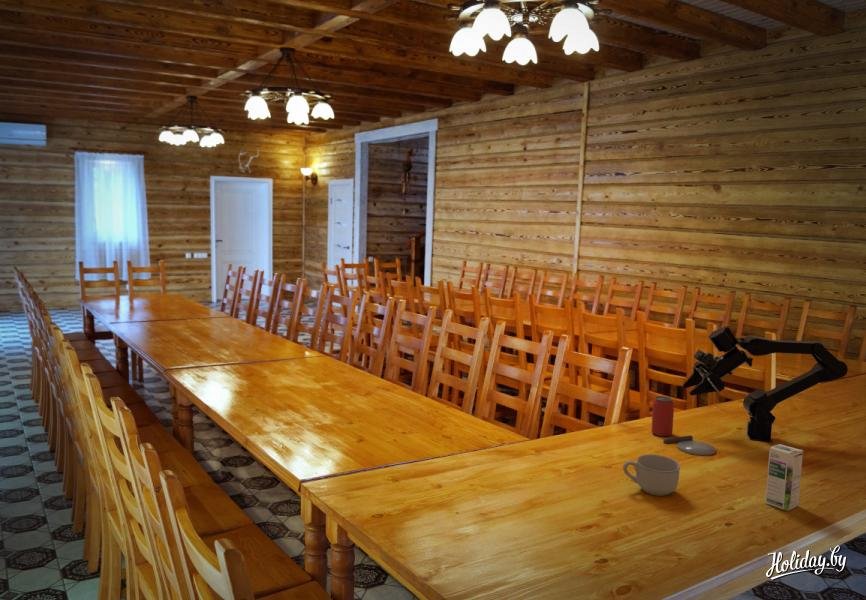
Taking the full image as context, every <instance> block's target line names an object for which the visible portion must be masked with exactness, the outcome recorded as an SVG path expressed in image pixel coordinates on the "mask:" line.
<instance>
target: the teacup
mask: <svg viewBox="0 0 866 600" xmlns="http://www.w3.org/2000/svg"><path fill="white" fill-rule="evenodd" d="M629 466H632V467H633V468H634V471H635V475H634V474H631V473H630V472H629V470H628V467H629ZM680 469H681V464H680V462H678V461H677V460H676V459H673V458H672V457H668V456H666V455H661V454H654V453H653V454H652V453H651V454H642V455H639V456H638V457H637V458H636V461H633V460H627V461H625V462H624V463H623V466H622V471H623V473H624V474H625V475H626V476H627V477H628V478H630V479H631V480H632V481H633V482H634V483H635V484H637V485H638V486H639V487H640V489H642V491H644V492H645V493H647V494H649V495H651V496H658V497H659V496H660V497H664V496H667V495H669V494H671V493H673V492H674V491H675V490H676V489H677V487H678V484H679V479H680Z"/></svg>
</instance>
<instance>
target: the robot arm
mask: <svg viewBox="0 0 866 600" xmlns="http://www.w3.org/2000/svg"><path fill="white" fill-rule="evenodd" d="M708 339H709V340H710V342H711V343H712V345H714V347H715V348H716V349H717V351H718V353H722V352H723V353H724V354H722V355H721V356H716V355H713V353H711V352H709V351H708V352H704V351H703V350H701V349H699V348H698V349H697V351H696V352H695V353H694V355H693V358H694V359H695V360H696V362H695V363H693V364H692V365H693V366H692V373H691V374H690V376H689V377H688V378H687V379H686V381H685V382H684V383H683V384H682V385H681V387H682V388H683V389H688V388H691V387H694V388H693V389H691V390H690V391H688V394H689V395H690V396H696V395H702V394H710V393H717V392H718V393H720V392H722V391H723V390H725V386H726V384H725V383H724V381H723V378H724V377H725V376H727V375H729V376H731V375H733V371H734V370H736V369H738V368H739V367H741V366H742V365H743V364H746V365H747V366H748V367H749V368H751V367H752V366H753V360H754V358H753V357H751V356H749V355H752V356H754V357H759V356H768V355H771V354H795V355H796V354H797V355H799V354H800V355H811V356H812V358H813V359H814V361H815V364H814V365H813V366H812V368H811V369H810V370H808V371H805V372H804V373H802V374H800V375H798V376H796V377H794V378H792V379H790V380H788V381H785V382H784V383H782V384H779V385H778V386H776V387H774V388H772V389H770V390H767V391H764V390H762V389H761V388H757V389H755V390H754V391H753V392H749V393H747V396H746V397H744V398H743V401H742V406H743V408H744V410H745V411H747V413H748V416H749V421H747V422H746V423H747V424H746V435H747V437H748V439H750V440H751V441H762V442H772V441H773V439H772V430H773V424H774V423H775V421H776V416H775V415H774V414H772V411H773V410H774V409H775V408H776V406H777V405H778V404H779V403H782V402H784V401H785V400H788V399H790V398H791V397H793V396H794V397H795V396H796V395H798V394H800V393H802V392H804V391H806V390H807V389H810V388H812V387H814V386H816V385H818V384H821V383H827V382H833V381H837V380H840V379H843V378H844V377H846V376H847V374H848V369H849V368H848V365H847V364H846V362H844V361H843V360H839V359H838V358H837V357H836V356H835V355H834V354H833V353H831V352H830V351H829V350H828V349H827V348H826V347H825V346H824V345H823V344H822V343H821V342H818V341H816V340H807V341H806V340H783V339H782V340H781V339H771V338H767V337H762V336H758V335H753V334H750V335H746V336H745V337H736V336H735V334H734V333H733V332H732V330H731V329H730V327H729V326H727V325H725V326H723V327H721V328H719V329H715V330H714V331H712V332H711V333H710V334H708ZM739 347H740V348H742V349H739ZM747 353H748V354H749V355H748V354H747Z"/></svg>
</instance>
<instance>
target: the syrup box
mask: <svg viewBox="0 0 866 600" xmlns="http://www.w3.org/2000/svg"><path fill="white" fill-rule="evenodd" d="M803 453H804V450H803V449H799V448H795V447H792V446H789V445H788V446H787V445H784V444H782V443H781V444H776V445H773V446H770V447H769V453H768V464H767V480H766V492H765V501H764V504H765V505H769V506H771V507H775V508H778V509H780V510H784V511H786V512H789V511H791V510H792V509H794V508H796V507H799V500H800V493H801V492H800V491H801V478H802V465H803V457H804V454H803Z"/></svg>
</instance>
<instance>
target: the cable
mask: <svg viewBox="0 0 866 600" xmlns="http://www.w3.org/2000/svg"><path fill="white" fill-rule="evenodd" d="M682 441H694V437H693V436H692V435H690V434H689V435H684V436H683V435H682V436H676V437H675V436H674V437H668V438H664V439H663V442H662V443H663V444H665V445H668V444H675V443H679V442H682Z"/></svg>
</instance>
